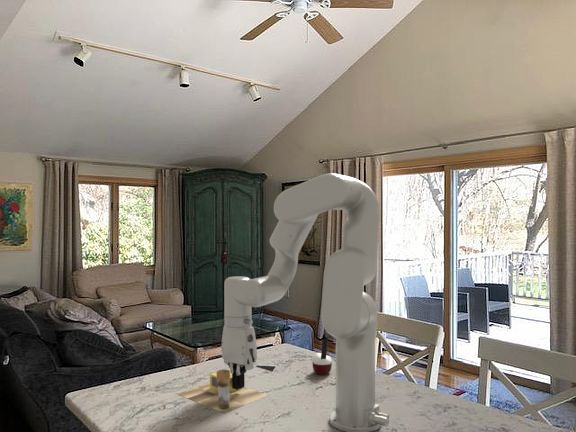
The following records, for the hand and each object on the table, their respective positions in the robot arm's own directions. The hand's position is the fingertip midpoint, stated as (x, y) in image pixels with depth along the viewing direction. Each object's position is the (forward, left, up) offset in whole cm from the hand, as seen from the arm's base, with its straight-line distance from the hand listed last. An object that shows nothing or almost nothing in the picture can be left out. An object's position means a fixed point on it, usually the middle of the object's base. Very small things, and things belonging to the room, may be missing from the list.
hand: (238, 387), depth 129 cm
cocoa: (-5, -31, -3) cm, 32 cm away
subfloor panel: (+3, +4, -3) cm, 5 cm away
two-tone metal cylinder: (-4, +9, -2) cm, 10 cm away
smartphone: (+10, -19, -3) cm, 22 cm away
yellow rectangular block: (+6, 0, -2) cm, 6 cm away
